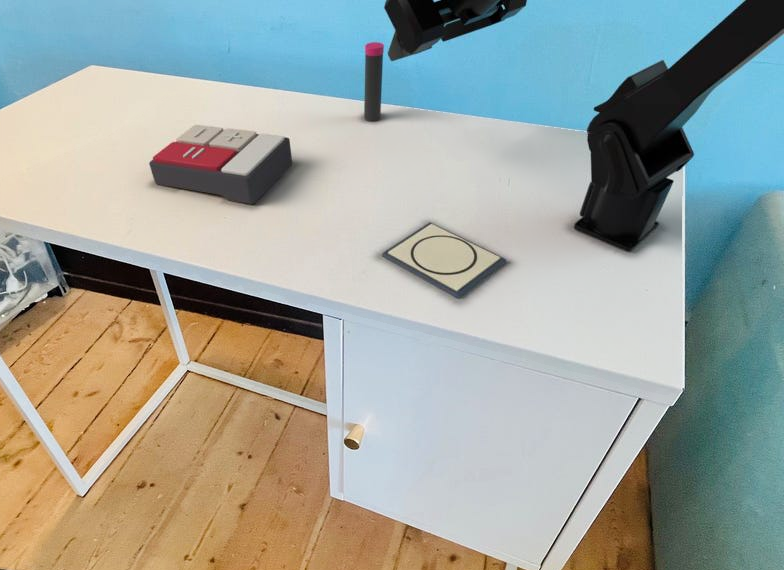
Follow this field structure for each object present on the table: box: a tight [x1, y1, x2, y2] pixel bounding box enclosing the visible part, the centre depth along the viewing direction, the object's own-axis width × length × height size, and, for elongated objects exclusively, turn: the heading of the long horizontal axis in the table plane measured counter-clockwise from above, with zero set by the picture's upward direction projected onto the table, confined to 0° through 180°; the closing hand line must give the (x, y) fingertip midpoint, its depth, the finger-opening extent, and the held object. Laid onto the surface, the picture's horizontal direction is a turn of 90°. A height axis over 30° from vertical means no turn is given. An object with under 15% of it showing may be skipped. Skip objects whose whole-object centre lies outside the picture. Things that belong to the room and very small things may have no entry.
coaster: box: [381, 221, 507, 299], centre depth 60 cm, size 10×8×1 cm
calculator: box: [148, 124, 293, 205], centre depth 73 cm, size 11×4×15 cm
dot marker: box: [363, 41, 385, 122], centre depth 80 cm, size 2×2×10 cm
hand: (416, 47), depth 71 cm, fingers open, 9 cm apart
